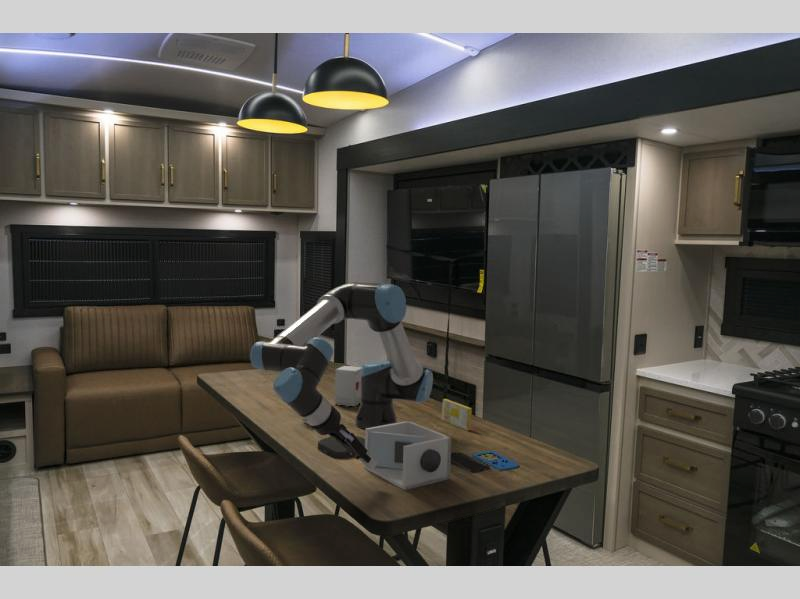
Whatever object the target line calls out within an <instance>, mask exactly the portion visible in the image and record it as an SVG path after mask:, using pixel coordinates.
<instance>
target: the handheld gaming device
mask: <svg viewBox="0 0 800 599" xmlns="http://www.w3.org/2000/svg"><path fill="white" fill-rule="evenodd" d="M486 454H493V455H492V457H494V458H493V459H488V460H485V459H483V458H481V457H479V456H481V455H484V456H485V457H488V456H487V455H486ZM496 456H497V457H496ZM471 457H472V458H474V459H476V460H478V459H479V461H480V460H481V462H482V461H484V462H485V463H487V464H489V465H491V466H490V467H492V468H494V469H496V470H497V469H498V471H500V472H502V471H508V470H512V469H517V467H518V466H519V465H520V464H519V463H518V462H516V461H514V460H512V459H510V458H507V457H506V456H503V455H502V454H500V453H498V452H496V451H493V450H488V451H483V452H478V453H477V452H476V453H472V454H471ZM484 462H483V463H484ZM518 468H519V467H518Z"/></svg>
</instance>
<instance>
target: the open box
mask: <svg viewBox="0 0 800 599" xmlns="http://www.w3.org/2000/svg"><path fill="white" fill-rule="evenodd" d="M364 430H365V431H364V433H365V435H364V436H365V438H364V439H365V448H366V449H367V450H368V451H367V453H368V454H369V451H370V431H375V432H385V433H395V434H404V435H414V436H424V437H426V441H425V442H420V443H415V444H410V445H406V446H403V469H396V468H387V467H379V466H375V468H374V469H373V471H371V470H369V469H368V468H367V467H366V466H365V465H364V469H365V470H367V471H368V472H371V473H372V474H374V475H376V476H378V477H380V478H382V479H383V480H385V481H387V482H388V483H390V484H392V485H394V486H396V487H398V488H400V489H401V490H403V491H409V490H414V489H417V488H419V487H424V486H428V485H431V484H435V483H439V482H443V481H447V480H450V479H451V453H452V437H450V436H448V435H445V434H444V433H440V432H438V431H435V430H433V429H431V428H429V427H426V426H423V425H420V424H418V423H415V422H413V421H411V420H406V421H401V422H397V423H393V424H388V425H382V426H377V427H371V428H365V429H364Z"/></svg>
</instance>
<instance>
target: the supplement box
mask: <svg viewBox="0 0 800 599" xmlns="http://www.w3.org/2000/svg"><path fill="white" fill-rule="evenodd" d="M362 367H363V366H362ZM362 367H360V366H349V365H343V366H340V367H338V368H336V369H335V371H334V372H335V374H334V375H335V376H334V377H335V378H334V380H335V381H334V385H335V386H334V405H335V404H338V405H337V406H340V405H345V406H344V407H349V406H355V407H357V406H358V404H359V403H360V404H361V373H362ZM360 404H359V405H360ZM356 405H357V406H356Z"/></svg>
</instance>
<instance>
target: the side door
mask: <svg viewBox="0 0 800 599" xmlns="http://www.w3.org/2000/svg"><path fill="white" fill-rule="evenodd" d="M425 441H426V437H424V436H414V435H404V434H395V433H385V432H375V431H370V451H369V455H370V456H371V457H372V458H373V459H374V460H375V461H376V462H377V463H378V464H377V465H376V466H379V467H387V468H396V469H403V446H406V445H410V444H415V443H420V442H425Z"/></svg>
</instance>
